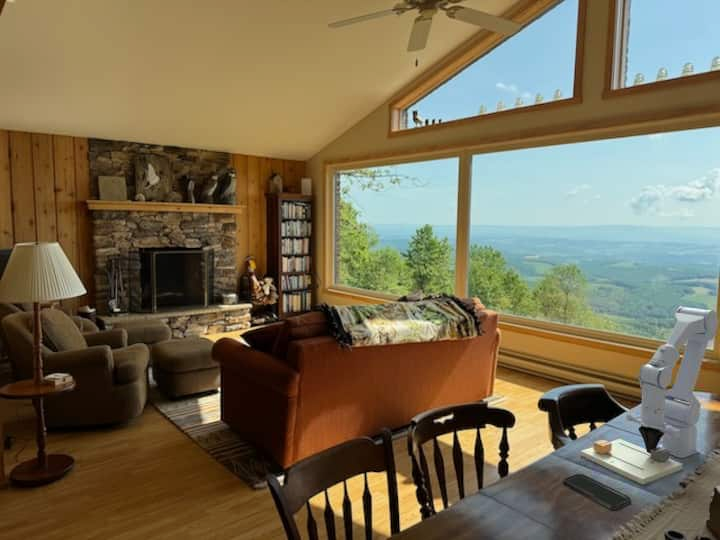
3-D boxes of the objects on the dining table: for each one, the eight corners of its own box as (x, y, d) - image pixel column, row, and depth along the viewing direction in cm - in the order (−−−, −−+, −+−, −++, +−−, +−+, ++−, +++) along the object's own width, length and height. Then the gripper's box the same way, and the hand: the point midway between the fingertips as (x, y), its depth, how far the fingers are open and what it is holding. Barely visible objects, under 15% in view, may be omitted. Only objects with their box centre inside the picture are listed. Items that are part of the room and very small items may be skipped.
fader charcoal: (658, 454, 144) (659, 446, 144) (669, 458, 141) (669, 450, 141) (650, 457, 142) (650, 449, 142) (660, 462, 139) (661, 453, 139)
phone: (580, 472, 136) (633, 498, 123) (580, 476, 136) (632, 503, 123) (560, 479, 132) (612, 507, 119) (560, 484, 132) (612, 511, 119)
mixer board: (619, 443, 156) (619, 438, 156) (682, 469, 139) (682, 463, 139) (580, 455, 147) (580, 450, 147) (642, 484, 131) (642, 479, 131)
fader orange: (602, 447, 149) (602, 439, 149) (611, 451, 146) (611, 442, 146) (593, 450, 147) (593, 441, 147) (602, 454, 144) (602, 445, 144)
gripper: (620, 401, 147) (618, 445, 148) (670, 417, 134) (667, 465, 136) (635, 397, 151) (633, 440, 152) (685, 413, 138) (682, 460, 139)
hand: (650, 452), depth 144 cm, fingers closed
